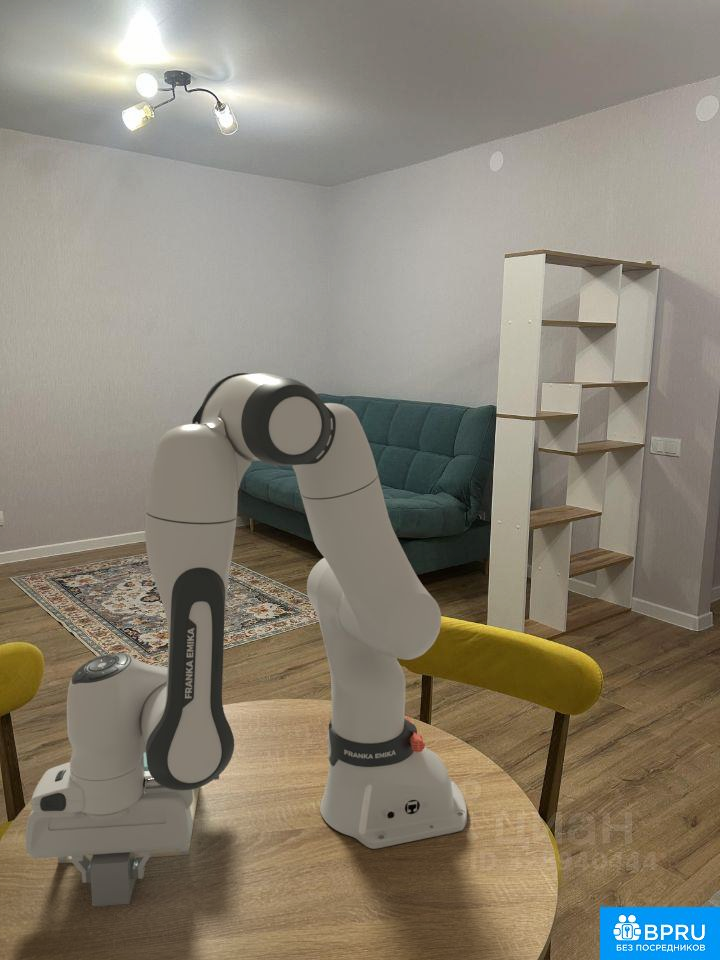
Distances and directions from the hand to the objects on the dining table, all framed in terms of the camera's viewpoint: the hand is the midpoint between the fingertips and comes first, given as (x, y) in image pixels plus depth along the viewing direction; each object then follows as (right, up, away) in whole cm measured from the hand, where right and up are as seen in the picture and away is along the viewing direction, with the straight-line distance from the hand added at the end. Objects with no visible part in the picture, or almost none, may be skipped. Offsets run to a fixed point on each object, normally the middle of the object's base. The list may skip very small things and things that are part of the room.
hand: (113, 877), depth 96 cm
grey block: (0, -2, 0) cm, 2 cm away
